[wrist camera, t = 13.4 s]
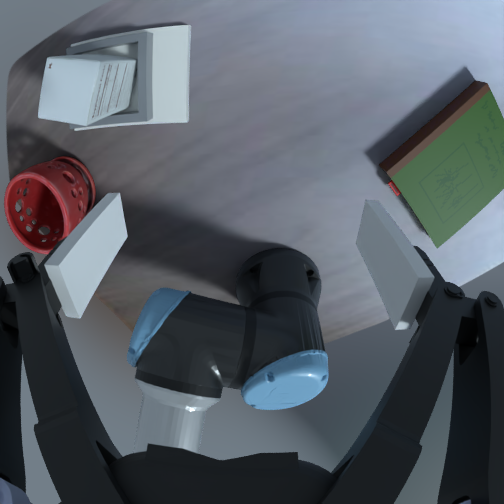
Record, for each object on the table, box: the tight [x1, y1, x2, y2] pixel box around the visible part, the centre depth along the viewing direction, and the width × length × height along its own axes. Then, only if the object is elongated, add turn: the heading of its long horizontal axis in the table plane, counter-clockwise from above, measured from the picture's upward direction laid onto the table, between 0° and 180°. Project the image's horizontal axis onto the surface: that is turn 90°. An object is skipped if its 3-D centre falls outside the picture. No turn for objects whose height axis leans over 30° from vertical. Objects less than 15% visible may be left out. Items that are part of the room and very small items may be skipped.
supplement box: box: [38, 54, 138, 126], centre depth 28 cm, size 7×7×13 cm
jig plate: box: [66, 25, 191, 131], centre depth 33 cm, size 14×18×4 cm
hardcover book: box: [379, 81, 504, 248], centre depth 40 cm, size 25×19×4 cm
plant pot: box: [4, 156, 96, 254], centre depth 39 cm, size 13×13×12 cm
